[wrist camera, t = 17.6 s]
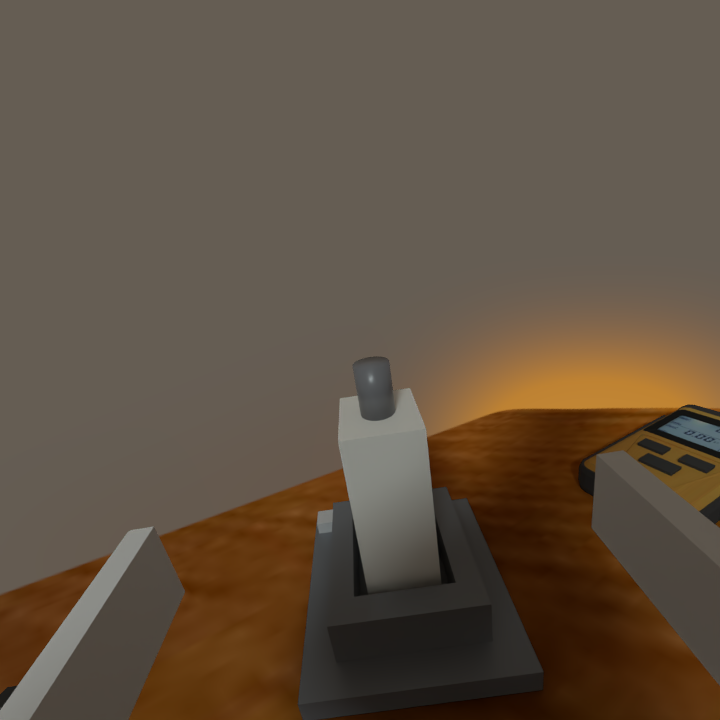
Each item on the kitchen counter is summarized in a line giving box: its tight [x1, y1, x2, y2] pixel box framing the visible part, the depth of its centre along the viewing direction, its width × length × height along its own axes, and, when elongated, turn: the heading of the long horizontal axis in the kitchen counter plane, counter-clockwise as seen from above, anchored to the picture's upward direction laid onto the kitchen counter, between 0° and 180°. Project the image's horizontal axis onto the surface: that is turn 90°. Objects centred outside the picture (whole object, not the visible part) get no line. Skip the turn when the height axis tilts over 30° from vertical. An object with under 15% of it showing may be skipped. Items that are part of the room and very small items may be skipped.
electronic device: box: [578, 405, 720, 524], centre depth 32 cm, size 9×16×4 cm, turn 116°
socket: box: [298, 487, 544, 720], centre depth 25 cm, size 13×13×4 cm
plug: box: [338, 357, 441, 595], centre depth 22 cm, size 4×5×16 cm
